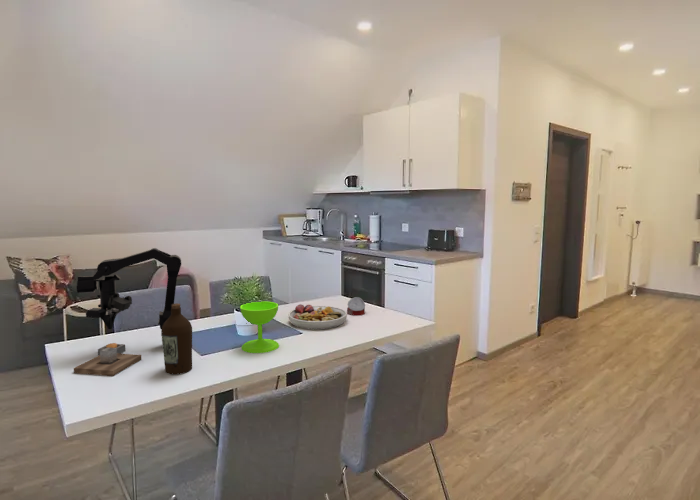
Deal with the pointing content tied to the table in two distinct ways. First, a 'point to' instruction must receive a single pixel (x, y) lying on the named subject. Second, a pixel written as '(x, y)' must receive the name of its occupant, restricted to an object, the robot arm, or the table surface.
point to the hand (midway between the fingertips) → (110, 328)
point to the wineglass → (259, 325)
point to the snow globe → (356, 307)
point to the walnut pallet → (104, 369)
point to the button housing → (119, 347)
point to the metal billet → (108, 356)
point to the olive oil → (177, 342)
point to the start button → (111, 345)
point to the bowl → (317, 317)
